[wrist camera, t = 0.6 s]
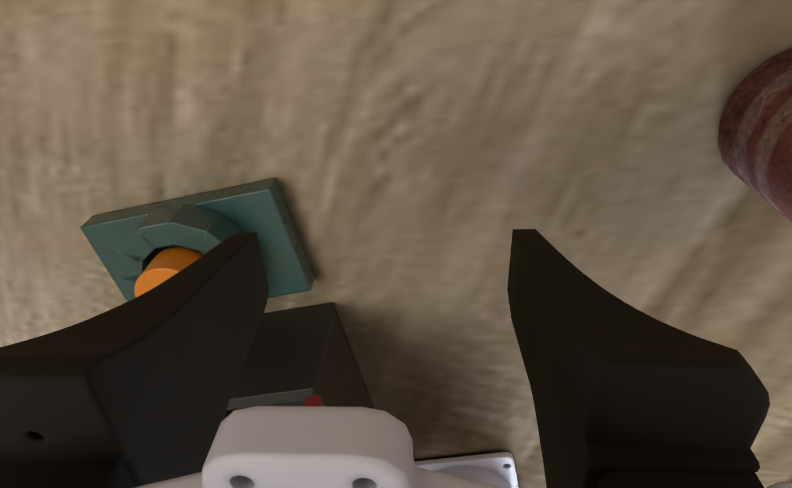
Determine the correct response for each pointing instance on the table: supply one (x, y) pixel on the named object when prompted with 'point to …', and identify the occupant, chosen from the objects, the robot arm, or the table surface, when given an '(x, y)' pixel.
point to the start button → (164, 267)
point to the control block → (203, 234)
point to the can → (762, 132)
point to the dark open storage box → (300, 363)
